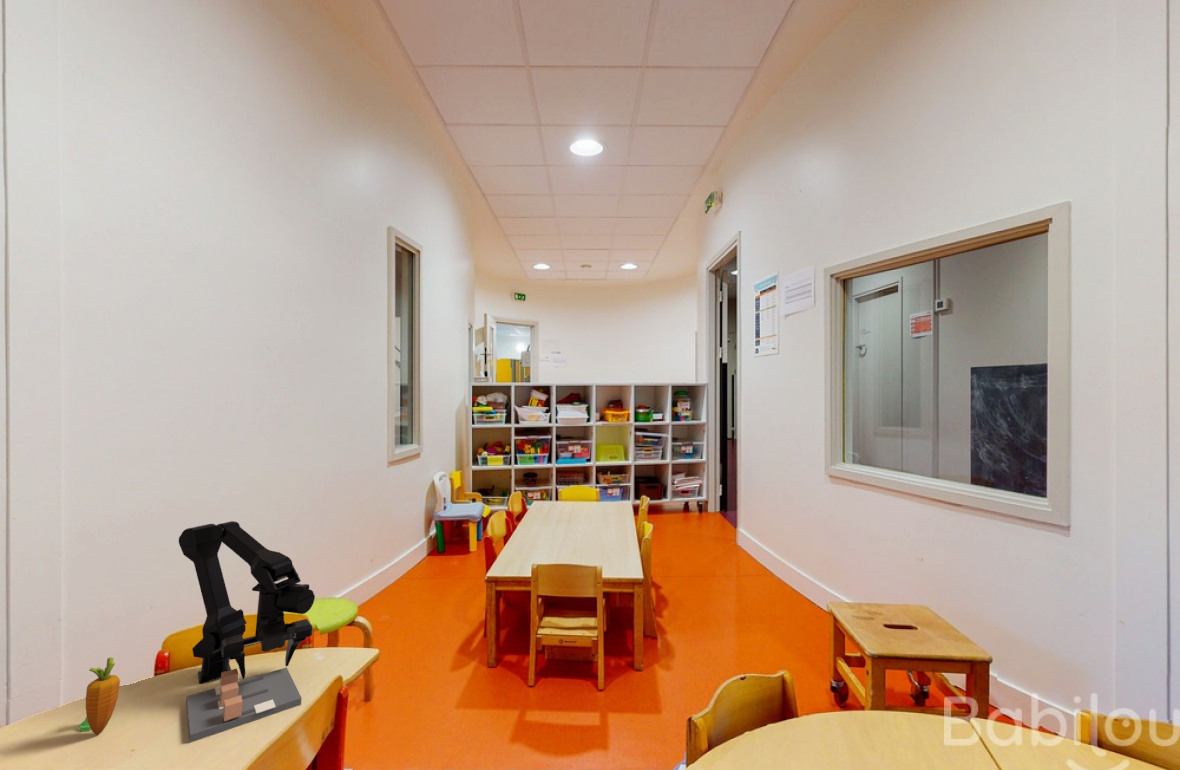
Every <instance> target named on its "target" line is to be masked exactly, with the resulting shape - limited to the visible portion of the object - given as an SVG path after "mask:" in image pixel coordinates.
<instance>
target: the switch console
mask: <svg viewBox="0 0 1180 770" xmlns="http://www.w3.org/2000/svg"><path fill="white" fill-rule="evenodd" d="M238 687H239V689H238V696H240V695H241V697H242V701H243V704H242V715H241V716H239V717H236V718H233V719H230V720H227V721H224V719H223V706H224V705H222V706H221V704H220V691H221V686H217V687H214V688H210V689H207V690H204V691H201V692H196V693H193V694H189V695H186V697H185V708H186V709H185V710H186V719H187V721H186V722H187V730H188V741H189V743H192V742H196V741H199V740H202V739H204V738H207V737H210V736H215V735H216V734H218V733H221V732H222V733H223V732H225V731H228V730H230V729H234V728H237V727H239V726H242V725H244V724H248V723H252V722H254V721H257V720H261V719H263V718H266V717H268V716H271V715H274V714H278V713H280V712H283V711H285V710H289V709H292V708H295V707H297V706H301V705H302V695H301V694H300V691H299V690H298V688H297V686H296V684H295V682H294V679H293V678H292V675H291V673H290V672H289V669H288V666H287V667H286V666H285V667H283V668H279V669H277V670H273V671H269V672H265V673H262V674H259V675H255V676H252V677H248V678H245V679H242V680H238Z"/></svg>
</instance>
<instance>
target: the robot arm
mask: <svg viewBox="0 0 1180 770" xmlns="http://www.w3.org/2000/svg"><path fill="white" fill-rule="evenodd" d="M222 543H223V544H224V545H225V546H226V547H227V548H229V549H230V551H232V552H234V553H235V554H236V555H237V556H238V557H239V558H240V559H242V560H243V561H244V562H245V563H247V564H248V566H249V567H250V575H251V576H252V577H253V578H254V579H255V581H257V584H256V585H255V586H253V587H252V588H251V590H252V591H253V592H258V601H257V611H256V623H255V635H253V636H250V637H245V638H244V637H243V636H244V633H245V632H246V628H247V627H246V624H247V623H248V622H247V620H246V619H245V616H244V614H245V613H244V610H242V609H241V608H240V609H236V608H234V607H232V605H231V602H230V599H229V598H230V597H229V594H228V590H227V586H226V582H225V579H224V575H223V571H222V567H221V566H222V565H221V563H220V560H219V555H218V554H219V551H220V548H221V546H222ZM178 544H179V547H180V549H181V552H182V555H184V557H186V558H187V559H189V561H191V562H192V563H193V565H194V569H195V574H196V577H197V580H198V585H199V588H200V592H201V597H202V601H203V605H204V609H205V613H206V618H205V621H204V623H203V627H202V630H201V631H202V632H201V633H202V638H201V639H200V640H199V641H198V642H197V643H196V644H195V645H194V646H193V647H192V654H193V657H194V658H199V659H201V669H200V670H199V671H198V672H197V678H198V683H199V684H205V683H209V682H211V681H216V680H219V679H221V673H222V672H225V671H229V670H232V668H231V665H230V664H231V663H230V660H231V661H232V660H235V662H236V664H237V665H238V669H239V672H240V676H241V679H242V680H244V679H246V661H245V659H246V658H245V657H246V653H245V651H244V650H245V648H246V647H250V646H255V645H259V644H260V646H261V651H262V652H269V651H271V650H274V649H275V650H276V649H281V648H284V647H285V645H286V641H287V646H286V650H285V651H286V652H285V660H284V661H285V662H284V663H285V664H284V666H285V668H286V667H287V668H288V667H289V665H290V662H291V660H292V658H293V655H294V653H295V651H296V649H297V648H298V647H299V644H300V643H302V642H304V641H306V639H307V638H309V637H311V636H312V635H313V631H314V629H313V625H312V624H311V622H310V621H309V620H308V619H307V618H305V619H299V620H295V621H293V622H290V623H286V622H285V613H290V614H298V615H303V614H306V613H307V612H309V611H310V610H311V608H312V606H313V605H314V602H315V598H316V595H315V592H314V591H313V590H312V589H310V584H307V583H304V584H302V583H300V582H301V581H302V580H301V579H300V577H299V574H298V572H297V570H296V568H295V566H294V565H293V560H292V559H291V558H290V557H289V556H287V555H285V554H283V553H282V552H280V551H274V550H270V549H268V548H267V547H265V546H264V545H262V543H260V541H257V539H255V537H253V536H252V535H251V534H249V533H248V532H247V531H246V530H244V529H243V528H242V527H241V526H240V524H239V522H237V521H234V520H233V521H232V520H231V521H227V522H223V523H218V524H215V523H208V524H202V525H197V526H194V527H188V528H185V529H184V530H183V531H182V532H181V534H180V535H179V537H178ZM286 578H287V579H286ZM281 580H282V581H281Z"/></svg>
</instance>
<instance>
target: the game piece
mask: <svg viewBox="0 0 1180 770" xmlns="http://www.w3.org/2000/svg"><path fill="white" fill-rule="evenodd" d="M78 728H80V729H79V732H91V731H92V730H91V728H90V726H89V724H88V721H87V716H86V717H85V718H84V720H83V721H82V722H81V723H80V724H79V727H78Z"/></svg>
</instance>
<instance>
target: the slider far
mask: <svg viewBox="0 0 1180 770" xmlns="http://www.w3.org/2000/svg"><path fill="white" fill-rule="evenodd" d="M238 681H239V670H238V668H232V669H231V670H229V671H225V672H222V673H221V678H220V686H224V685H227V684H230V683H234V682H237V683H238ZM220 686H219V687H220Z"/></svg>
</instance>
